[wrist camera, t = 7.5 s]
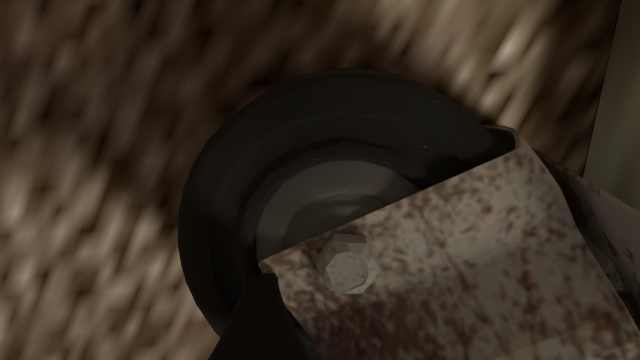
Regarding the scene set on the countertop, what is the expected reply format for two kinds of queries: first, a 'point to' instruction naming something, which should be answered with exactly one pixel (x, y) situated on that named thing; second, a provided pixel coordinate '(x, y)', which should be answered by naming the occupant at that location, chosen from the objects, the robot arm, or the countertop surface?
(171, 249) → the countertop surface
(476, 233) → the caster wheel
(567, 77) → the countertop surface
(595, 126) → the frame
